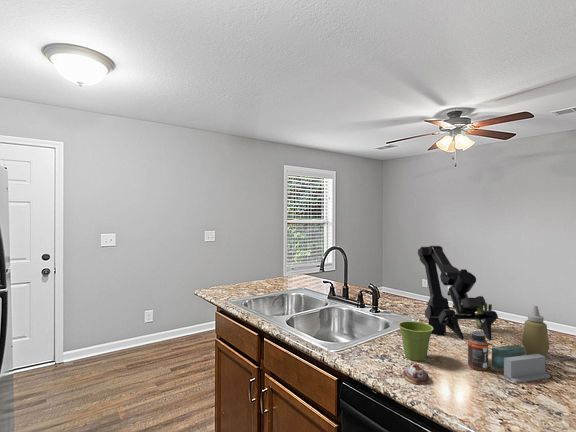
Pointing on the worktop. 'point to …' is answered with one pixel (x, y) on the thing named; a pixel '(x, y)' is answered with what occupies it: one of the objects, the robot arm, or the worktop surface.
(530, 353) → the squeeze bottle
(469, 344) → the supplement bottle
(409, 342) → the plant pot
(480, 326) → the fennel bulb
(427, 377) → the pastry
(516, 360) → the backstop wall
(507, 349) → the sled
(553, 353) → the worktop surface
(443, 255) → the robot arm
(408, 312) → the worktop surface
